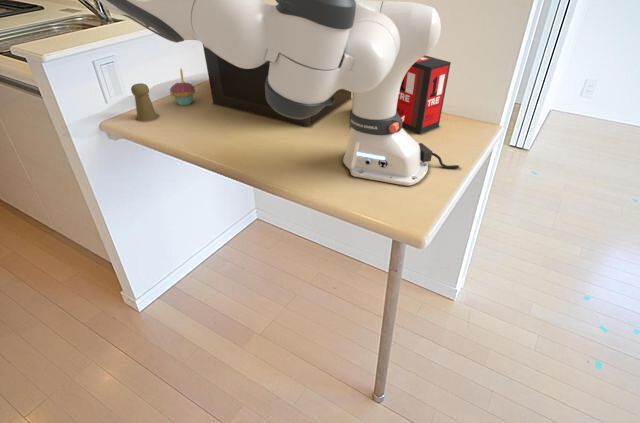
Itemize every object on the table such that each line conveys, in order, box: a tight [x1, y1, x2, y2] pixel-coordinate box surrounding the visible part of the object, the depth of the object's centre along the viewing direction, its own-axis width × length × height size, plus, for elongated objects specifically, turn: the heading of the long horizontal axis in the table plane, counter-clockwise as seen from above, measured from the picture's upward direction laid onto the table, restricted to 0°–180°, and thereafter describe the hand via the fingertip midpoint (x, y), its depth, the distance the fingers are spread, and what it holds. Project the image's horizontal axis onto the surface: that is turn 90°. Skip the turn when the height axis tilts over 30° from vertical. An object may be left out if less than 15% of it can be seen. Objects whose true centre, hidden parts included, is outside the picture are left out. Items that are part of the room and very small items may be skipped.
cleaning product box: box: [396, 54, 452, 135], centre depth 125 cm, size 16×9×20 cm, turn 39°
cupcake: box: [169, 69, 196, 106], centre depth 140 cm, size 9×8×12 cm
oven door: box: [202, 43, 312, 128], centre depth 127 cm, size 6×40×24 cm, turn 60°
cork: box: [130, 82, 158, 122], centre depth 130 cm, size 6×6×11 cm
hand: (196, 8), depth 99 cm, fingers closed
